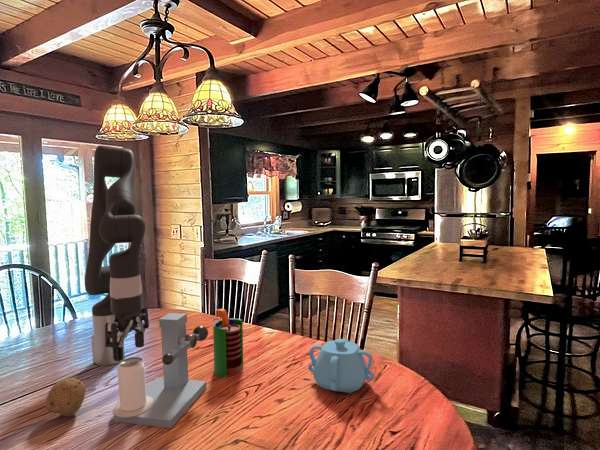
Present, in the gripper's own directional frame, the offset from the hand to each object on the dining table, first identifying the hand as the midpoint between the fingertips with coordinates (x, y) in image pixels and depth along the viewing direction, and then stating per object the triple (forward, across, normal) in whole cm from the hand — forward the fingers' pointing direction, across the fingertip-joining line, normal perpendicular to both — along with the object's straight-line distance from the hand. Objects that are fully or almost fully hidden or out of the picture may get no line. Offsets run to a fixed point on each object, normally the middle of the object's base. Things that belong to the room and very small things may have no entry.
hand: (129, 353), depth 101 cm
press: (+17, -5, +4) cm, 18 cm away
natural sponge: (+17, +4, -16) cm, 24 cm away
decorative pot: (+16, -25, +52) cm, 60 cm away
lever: (+3, -9, +11) cm, 15 cm away
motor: (+17, -28, +15) cm, 36 cm away
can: (+14, 0, 0) cm, 14 cm away
